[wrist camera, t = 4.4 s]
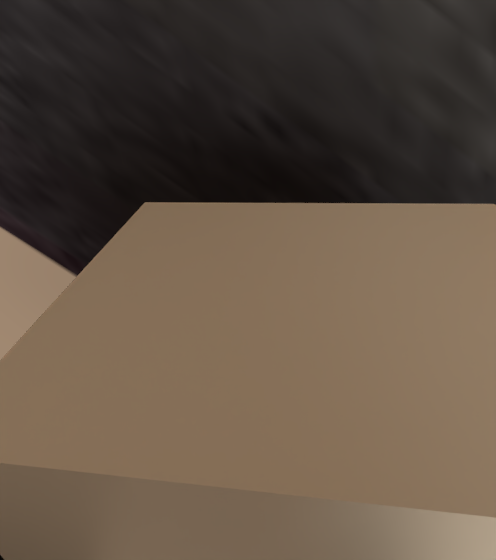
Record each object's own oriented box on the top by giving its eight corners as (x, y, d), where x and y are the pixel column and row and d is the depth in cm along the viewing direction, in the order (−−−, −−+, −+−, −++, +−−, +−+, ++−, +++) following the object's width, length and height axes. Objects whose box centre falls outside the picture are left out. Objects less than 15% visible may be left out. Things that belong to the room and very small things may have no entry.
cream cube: (425, 434, 13) (508, 755, 7) (188, 414, 14) (104, 678, 8) (494, 204, 8) (828, 555, 3) (144, 202, 10) (-85, 453, 4)
